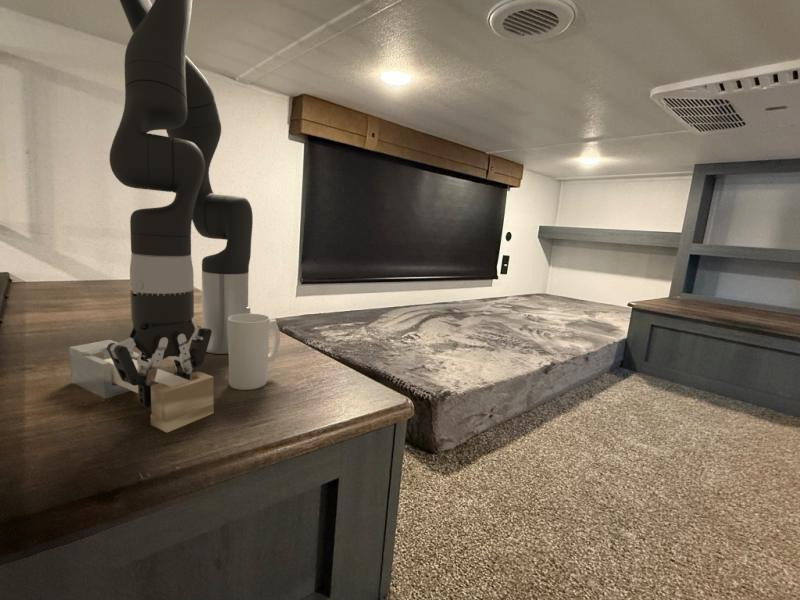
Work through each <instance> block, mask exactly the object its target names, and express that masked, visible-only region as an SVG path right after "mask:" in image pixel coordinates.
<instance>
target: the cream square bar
mask: <svg viewBox="0 0 800 600" xmlns="http://www.w3.org/2000/svg"><path fill="white" fill-rule="evenodd" d="M132 360H133V362H134V365H135V367H136V369H137V370H138V364H137V360H134V359H132ZM105 361H108V362H110V363H111V380H112V382H113V383H116V384H118V385H120V386H123V387H125V388H127V389H129V390H132V391H131V392H134V393H135V394H138V385H136V386H134V385H131V384H130V383H128V382H124V381H122V380H121V377H120V375H119V373H118V371H117V369H116V367H115V365H114V363H113V361H112V358H110V359H106V360H105ZM189 381H190V380H187V379H184V378H182V377H179V376H176V375H174V373H171V372H168V371H166V370H163V369H160V368H159V369H158V370H157V373H156V377H155V381H154V384H159V383H163V384H165V385H168V386H170V387H173V386H176V385H179V384H183V383H186V382H189Z"/></svg>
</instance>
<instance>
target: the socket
mask: <svg viewBox="0 0 800 600" xmlns="http://www.w3.org/2000/svg"><path fill="white" fill-rule="evenodd" d="M214 395H215V394H214V375H210V374H206V373H205V372H201V371H195V372H191V374H190V381H189V382H186V383H183V384H179V385H176V386H173V387H170V386H168V385H165V384H163V383H159V384H156V385H152V386H151V410H150V411H151V414H150V426H152V427H154V428H156V429H159V430H160V431H162V432H164V433H169V432H172V431H174V430H177V429H179V428H182V427H185V426H186V425H189V424H191V423H193V422H196V421H199V420H201V419H203V418H205V417H208V416H210V415H212V414H215V413H214V411H215V404H214Z"/></svg>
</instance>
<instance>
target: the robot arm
mask: <svg viewBox="0 0 800 600" xmlns="http://www.w3.org/2000/svg"><path fill="white" fill-rule="evenodd" d="M119 2H120V5H121V7H122V10H123V12H124V14H125V16H126V19H127V22H128V23H129V27H130V30H131V31H132V35H131V37H130V38H129V41H128V43H127V46H126V49H125V54H124V90H125V91H124V92H125V93H124V95H125V96H124V97H125V98H124V99H125V100H124V109H123V112H122V115H121V119H120V122H119V126H118V128H117V130H116V132H115V135H114V137H113V140H112V144H111V147H110V150H109V159H108V160H109V165H110V169H111V171H112V174H113V175H114V176H115V178H116V180H118V181H119V182H120V183H121V184H123V185H124V186H126V187H128V188H132V189H139V190H147V191H148V190H149V191H158V192H166V193H174V194H175V196H174V199H173V201H172V202H171V203H169V204H167V205H164V206H161V207H160V206H158V207H150V208H149V207H147V208H141V209H140V208H139V209H136V210H134V211H133V212H132V213H131V214H130V218H129V219H130V220H129V223H130V224H129V225H130V226H129V228H130V233H129V234H130V252H131V255H130V265H129V288H130V290H129V291H130V311H131V312H130V314H131V316H130V317H131V322H132V329H131V332H130V334H129V337H128V338H127V339H124V340H121V341H119V342H118V344H116V343H110V344H109V345H108V346H107V350H108V352H109V354H110V356H111V358H112V361H113V363H114V365H115V367H116V369H117V371H118V373H119V375H120V377H121V380H122V381H124V382H128V383H130V384H131V385H134V386H136V385H138V393H137V394H138V403H139V406H142V407H143V408H145V409H147V410H149V411H151V386H152V385H156V384H154V381H155V377H156V373H157V370H158V369H160V368H161V367H162V363H163V360H164V359H167V358H170V359H171V361H172V365H173V367H174V369H175V370H174V371H175V372H174V373H173V374H174V375H176V376H179V377H182V378H184V379H187V380H190V374H192V373H193V370H194V369H196V368H200V367H202V366H203V364H204V361H205V358H206V354H207V353H208V354H209V353H210V354H217V355H218V354H219V355H229V348H228V317H230V316H232V315H237V314H251V307H250V306H249V274H250V273H249V271H250V270H249V269H250V268H249V267H250V261H251V256H252V255H251V252H252V236H253V225H254V224H253V223H254V222H253V218H254V217H253V209H252V206H251V203H250V201H249V200H248V199H247V198H245V197H243V196H238V195H227V194H226V195H225V194H215V193H214V192H213V189H212V185H211V181H210V168H211V163H212V160H213V158H214V155H215V152H216V150H217V147H218V145H219V142H220V139H221V135H222V124H221V118H220V116H219V111H218V106H217V103H216V99H215V94H214V91H213V89H212V86H211V84H209V82H208V80H207V78H205V76H204V74H202V72H201V71H200V70H199V68H197V66H196V65H195V64H194V63H193V61H192V60H190V59H191V58H189V57H188V56H187V54H186V53H187V45H188V38H189V37H188V36H189V31H190V23H191V18H192V17H191V16H192V8H193V0H154V1H153V4H152V2H151V0H119ZM159 130H160V131H161V130H164V131H166V133H167V136H165V135H160V134H153V133H149V132H152V131H159ZM192 223H193V226H194V228H195V230H196V231H197V233H198V234H199V235H200V236H202V237H204V238H208V239H213V240H215V239H216V240H225V241H226V245H225V248H224V249H223V250H221V251H219V252H217V253H215V254H211V255H206V256H205V257H203V258H202V260H201V311H202V312H201V322H202V323H201V326H200V325H199V326H198V325H197V326H195V324H194V323H193V318H194V315H195V305H194V304H195V302H194V301H195V296H194V295H195V292H194V289H195V288H194V287H195V286H194V266H193V261H192ZM190 340H191V341H190ZM189 342H190V345H189V347H188V343H189ZM134 347H136V349H138V351H139V357H138V361H137V364H138V370H137V369H136V367H135V365H134V362H133V360H132V358H131V356H133V354H134V353H133V352H134Z"/></svg>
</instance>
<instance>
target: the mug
mask: <svg viewBox="0 0 800 600" xmlns="http://www.w3.org/2000/svg"><path fill="white" fill-rule="evenodd" d="M277 322H278V321H277V319H275V318H274V319H271V317H270V316H269V315H267V314H260V313H250V314H237V315H232V316H230V317H228V348H229V354H228V381H229V383H228V384H229V387H231V388H232V389H235V390H239V391H240V390H242V391H249V390H250V391H251V390H256V389H257V390H258V389H260V388H262V387H264V386H265V385H267V383H268V368H269V364H270V363H274V362H275V361H276V358H277V354H278V351H279V348H280V345H281V344H280V343H281V332H280V328H279V326H278V323H277ZM270 330H271V331H272V332H273V335H274V337H273V338H274V340H273V345H272V348H271V350H270V351H269V349H270V348H269V346H270Z"/></svg>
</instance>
